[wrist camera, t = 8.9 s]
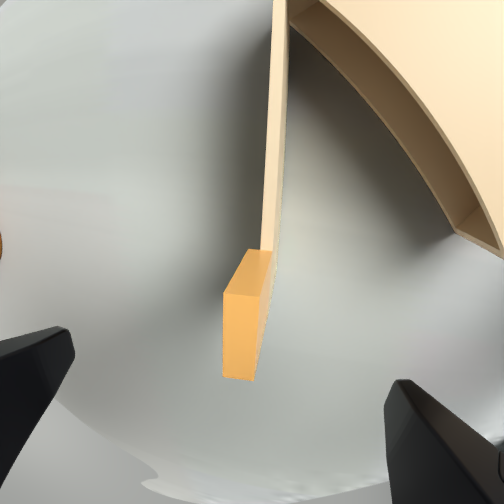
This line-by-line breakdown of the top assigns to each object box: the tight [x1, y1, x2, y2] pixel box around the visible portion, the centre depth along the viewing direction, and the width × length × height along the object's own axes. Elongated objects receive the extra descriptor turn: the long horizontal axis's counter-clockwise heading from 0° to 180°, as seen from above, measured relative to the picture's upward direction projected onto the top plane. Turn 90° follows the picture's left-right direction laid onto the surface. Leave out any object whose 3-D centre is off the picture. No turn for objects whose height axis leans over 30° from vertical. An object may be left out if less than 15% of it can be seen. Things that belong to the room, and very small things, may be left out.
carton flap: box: [223, 0, 290, 381], centre depth 12 cm, size 16×1×11 cm, turn 177°
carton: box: [288, 0, 504, 260], centre depth 11 cm, size 18×16×6 cm
